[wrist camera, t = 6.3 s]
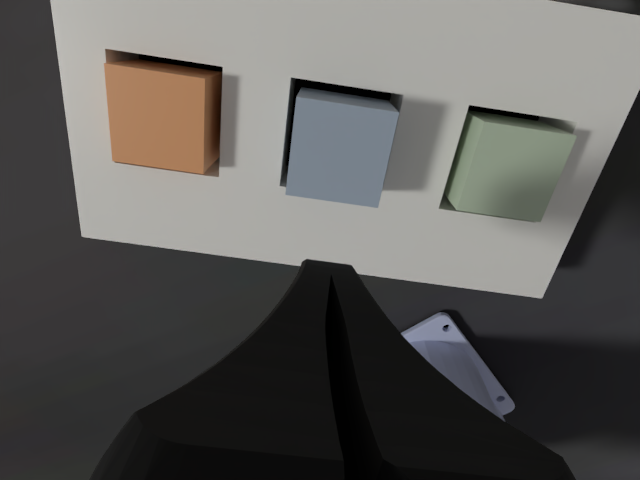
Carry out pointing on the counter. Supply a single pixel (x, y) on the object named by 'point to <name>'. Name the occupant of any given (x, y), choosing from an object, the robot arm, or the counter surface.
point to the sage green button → (507, 166)
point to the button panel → (361, 72)
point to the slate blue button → (340, 147)
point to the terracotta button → (164, 114)
